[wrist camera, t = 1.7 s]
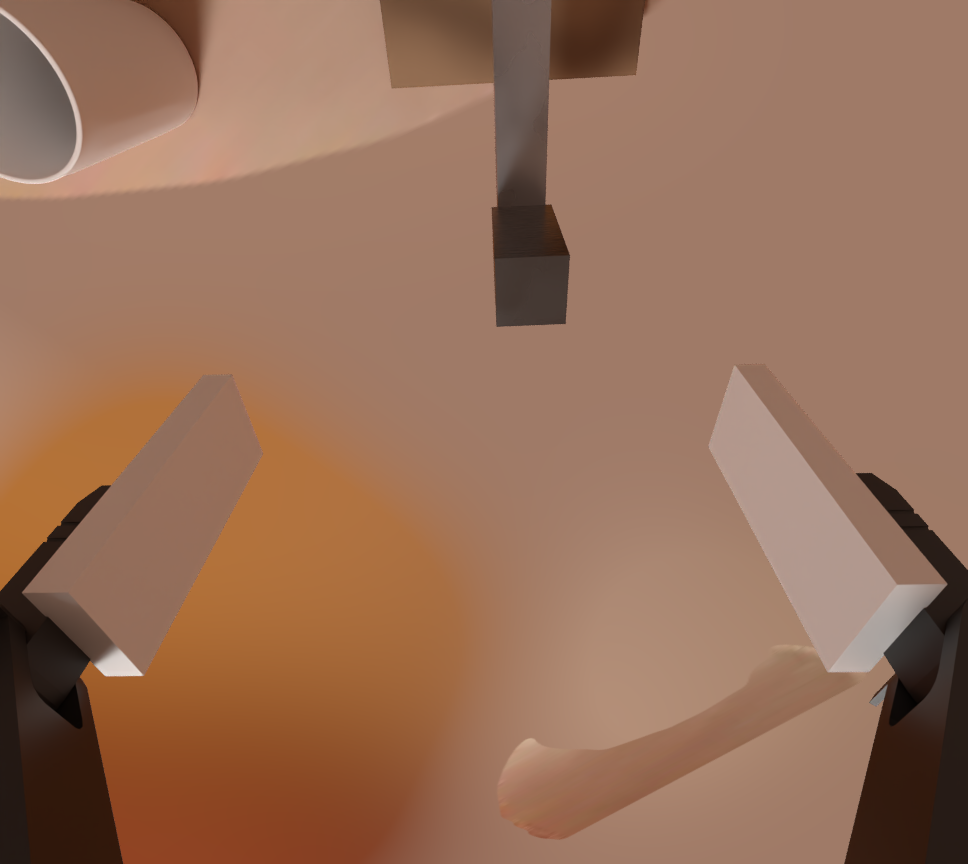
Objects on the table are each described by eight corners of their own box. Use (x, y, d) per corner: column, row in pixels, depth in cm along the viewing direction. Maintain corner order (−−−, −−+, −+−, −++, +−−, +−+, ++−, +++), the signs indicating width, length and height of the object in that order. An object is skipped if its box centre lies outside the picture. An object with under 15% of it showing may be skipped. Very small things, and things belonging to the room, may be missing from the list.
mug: (144, -34, 27) (-36, -60, 17) (228, 106, 31) (119, 146, 21) (7, 53, 29) (-216, 71, 20) (102, 173, 33) (-47, 234, 24)
